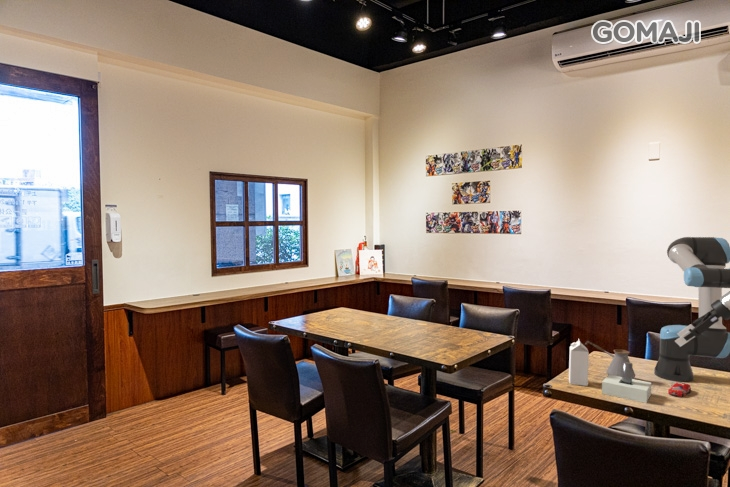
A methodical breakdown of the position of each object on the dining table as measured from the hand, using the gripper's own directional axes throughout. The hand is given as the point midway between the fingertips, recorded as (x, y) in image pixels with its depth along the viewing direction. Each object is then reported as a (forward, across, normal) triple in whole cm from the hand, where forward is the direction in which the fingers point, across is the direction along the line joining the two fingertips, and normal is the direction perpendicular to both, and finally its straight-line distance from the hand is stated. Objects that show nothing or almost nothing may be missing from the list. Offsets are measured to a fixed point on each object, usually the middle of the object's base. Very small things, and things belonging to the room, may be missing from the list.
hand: (678, 340), depth 187 cm
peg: (+29, -4, -5) cm, 30 cm away
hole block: (+29, -4, -5) cm, 30 cm away
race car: (+18, +11, -18) cm, 28 cm away
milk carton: (+43, -2, +8) cm, 44 cm away
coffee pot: (+37, +16, +2) cm, 40 cm away
